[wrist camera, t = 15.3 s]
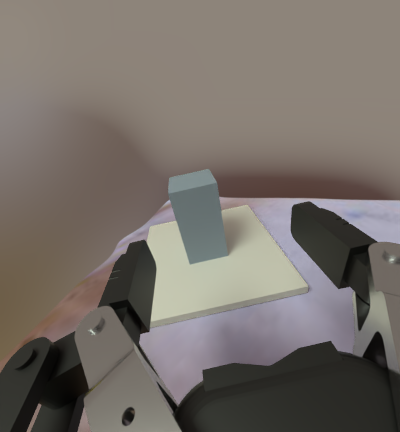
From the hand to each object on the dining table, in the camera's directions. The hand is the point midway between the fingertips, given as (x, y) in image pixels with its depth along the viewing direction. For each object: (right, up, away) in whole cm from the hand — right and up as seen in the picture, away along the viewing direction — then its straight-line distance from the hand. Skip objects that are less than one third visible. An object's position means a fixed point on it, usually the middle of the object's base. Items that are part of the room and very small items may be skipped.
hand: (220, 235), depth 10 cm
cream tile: (0, -4, +16) cm, 17 cm away
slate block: (0, -3, +16) cm, 16 cm away
